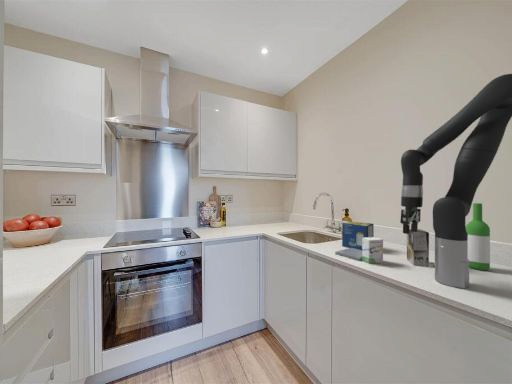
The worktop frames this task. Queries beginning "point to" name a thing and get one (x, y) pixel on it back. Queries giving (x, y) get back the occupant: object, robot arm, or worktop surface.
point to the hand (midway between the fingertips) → (410, 232)
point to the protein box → (356, 233)
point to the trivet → (351, 253)
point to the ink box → (372, 250)
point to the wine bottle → (478, 240)
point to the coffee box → (418, 247)
